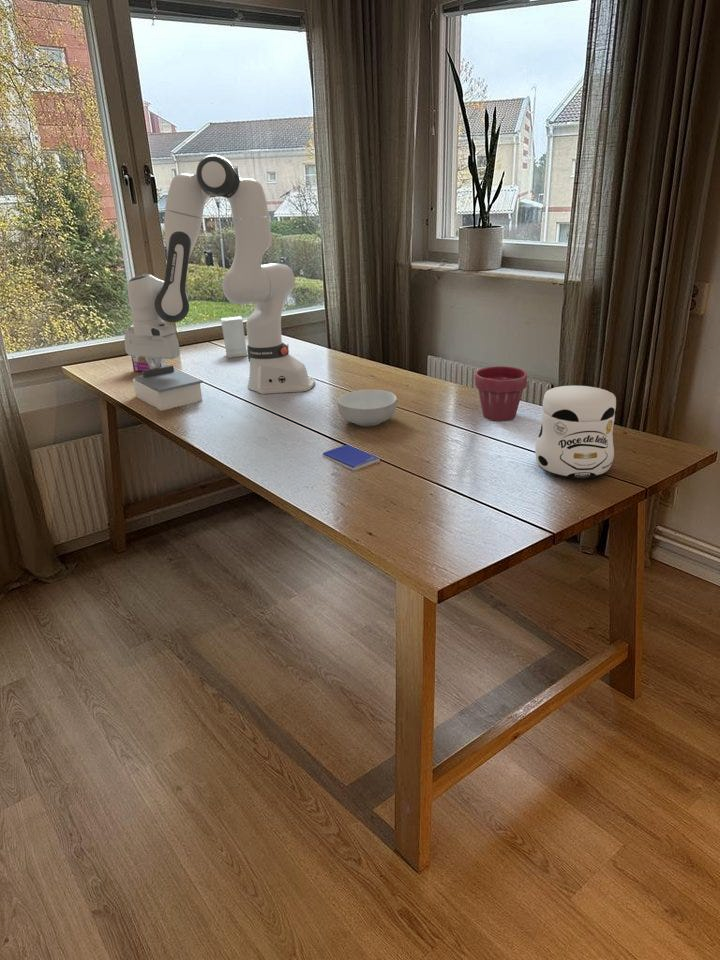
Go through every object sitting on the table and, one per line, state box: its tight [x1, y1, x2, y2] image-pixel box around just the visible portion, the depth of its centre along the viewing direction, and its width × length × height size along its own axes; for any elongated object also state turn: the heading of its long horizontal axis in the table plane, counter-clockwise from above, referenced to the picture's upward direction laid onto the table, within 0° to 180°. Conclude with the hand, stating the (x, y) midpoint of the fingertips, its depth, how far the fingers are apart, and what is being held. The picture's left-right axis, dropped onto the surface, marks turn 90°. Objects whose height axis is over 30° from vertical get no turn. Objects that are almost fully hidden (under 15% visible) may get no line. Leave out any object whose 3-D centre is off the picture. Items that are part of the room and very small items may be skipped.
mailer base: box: [132, 378, 203, 412], centre depth 217 cm, size 20×14×6 cm
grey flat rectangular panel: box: [133, 364, 203, 392], centre depth 213 cm, size 20×14×3 cm
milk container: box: [534, 385, 617, 480], centre depth 153 cm, size 17×17×18 cm
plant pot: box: [474, 365, 528, 422], centre depth 189 cm, size 14×14×13 cm
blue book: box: [322, 444, 380, 471], centre depth 167 cm, size 2×8×12 cm
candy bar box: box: [130, 324, 167, 373], centre depth 247 cm, size 11×5×16 cm, turn 84°
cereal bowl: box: [337, 388, 398, 427], centre depth 190 cm, size 17×17×7 cm
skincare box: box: [220, 315, 248, 359], centre depth 263 cm, size 8×6×15 cm
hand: (155, 370), depth 220 cm, fingers closed
